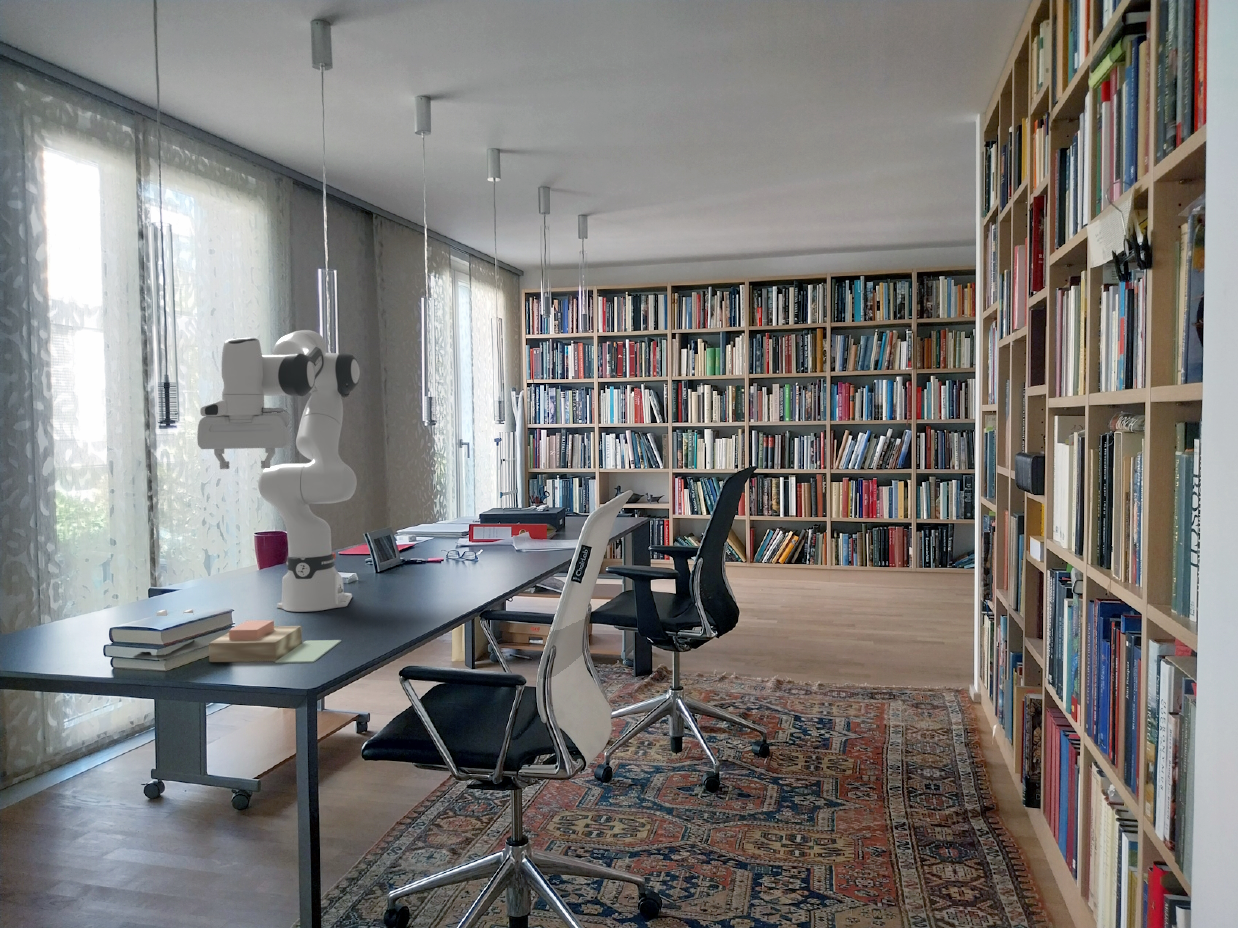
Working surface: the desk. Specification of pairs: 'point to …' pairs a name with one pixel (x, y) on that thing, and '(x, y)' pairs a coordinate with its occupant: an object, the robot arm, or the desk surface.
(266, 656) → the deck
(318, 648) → the mat
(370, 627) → the desk surface
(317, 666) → the desk surface
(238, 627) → the terracotta brick
